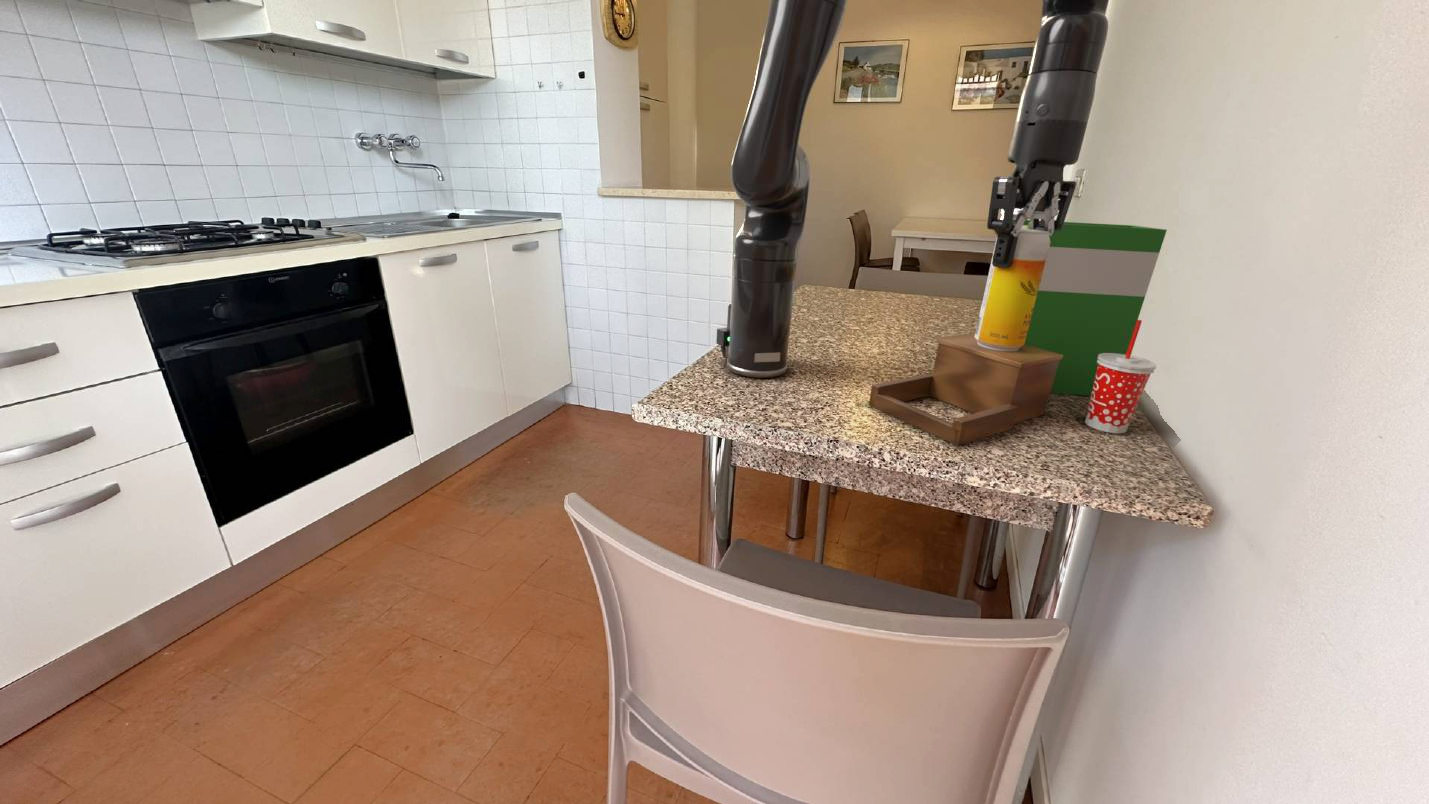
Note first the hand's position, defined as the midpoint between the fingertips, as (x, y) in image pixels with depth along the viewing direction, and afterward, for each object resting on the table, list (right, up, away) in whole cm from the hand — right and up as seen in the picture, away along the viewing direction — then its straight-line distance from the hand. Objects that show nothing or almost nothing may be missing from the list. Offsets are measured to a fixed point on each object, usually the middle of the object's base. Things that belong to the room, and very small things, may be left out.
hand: (1016, 265), depth 73 cm
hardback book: (+12, -15, +16) cm, 25 cm away
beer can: (0, -10, +4) cm, 11 cm away
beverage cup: (+12, -21, +2) cm, 24 cm away
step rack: (-5, -18, +5) cm, 20 cm away
